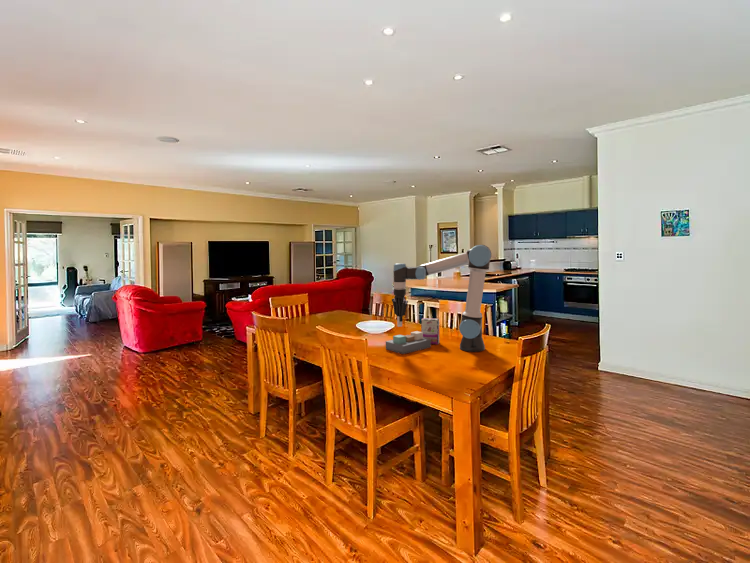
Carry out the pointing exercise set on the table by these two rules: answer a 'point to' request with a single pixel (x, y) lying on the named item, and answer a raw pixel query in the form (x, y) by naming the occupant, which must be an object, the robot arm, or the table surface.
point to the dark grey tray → (408, 346)
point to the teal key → (399, 339)
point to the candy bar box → (430, 329)
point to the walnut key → (409, 338)
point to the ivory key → (417, 335)
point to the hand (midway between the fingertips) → (399, 326)
